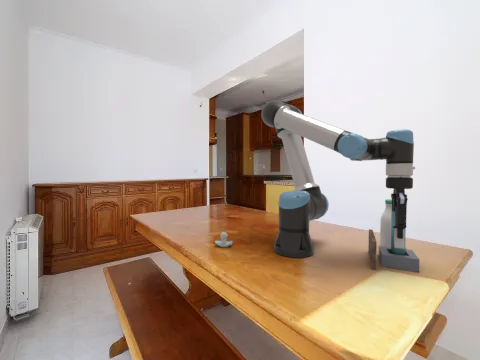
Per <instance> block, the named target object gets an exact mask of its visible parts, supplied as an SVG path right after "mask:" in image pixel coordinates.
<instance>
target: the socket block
mask: <svg viewBox="0 0 480 360" xmlns="http://www.w3.org/2000/svg"><path fill="white" fill-rule="evenodd" d="M378 259H379V262H380V265H381V267H383V268H387V269H388V268H389V269H396V270H403V271H409V272H415V273H420V258H419V257H418V256H417V254H416V253H415V251H414V250H413V249H408V248H407V249H406V248H405V255H397V254H392V253H391V247H383V246H380V245H379V246H378Z"/></svg>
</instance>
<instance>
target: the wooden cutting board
mask: <svg viewBox="0 0 480 360" xmlns="http://www.w3.org/2000/svg"><path fill="white" fill-rule="evenodd" d="M377 243H378V242H377V239H376V236H375V233H374V230H373V229H368V247H367V248H368V249H367V250H368V256H369V263H370V268H371V269H372V270H373V271H376V270H377Z"/></svg>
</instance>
